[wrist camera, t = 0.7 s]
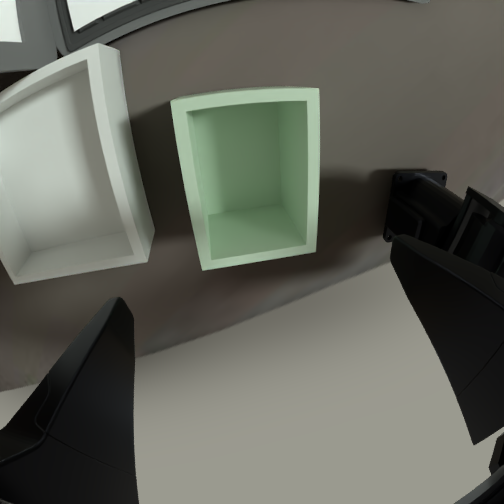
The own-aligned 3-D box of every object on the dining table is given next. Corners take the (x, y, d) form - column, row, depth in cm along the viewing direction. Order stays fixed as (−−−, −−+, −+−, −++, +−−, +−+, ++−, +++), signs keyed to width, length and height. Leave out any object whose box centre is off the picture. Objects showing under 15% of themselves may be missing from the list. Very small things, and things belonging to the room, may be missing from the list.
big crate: (119, 50, 12) (98, 42, 9) (155, 230, 20) (147, 261, 16) (-14, 115, 11) (-45, 127, 8) (33, 255, 19) (14, 284, 15)
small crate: (282, 85, 15) (318, 88, 10) (287, 206, 21) (315, 252, 16) (180, 96, 15) (170, 101, 10) (200, 219, 20) (202, 270, 15)
